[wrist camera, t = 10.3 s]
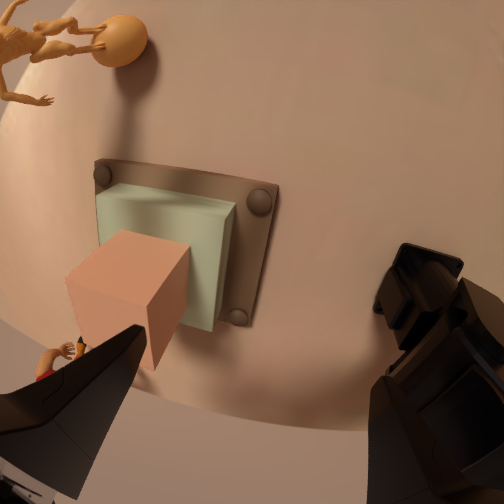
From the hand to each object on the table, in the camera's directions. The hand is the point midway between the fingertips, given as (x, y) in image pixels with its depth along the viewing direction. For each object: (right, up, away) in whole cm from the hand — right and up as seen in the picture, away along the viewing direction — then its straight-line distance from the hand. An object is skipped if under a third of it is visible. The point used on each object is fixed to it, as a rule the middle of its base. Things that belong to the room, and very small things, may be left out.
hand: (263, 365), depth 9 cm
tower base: (-6, +5, +12) cm, 15 cm away
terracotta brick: (-7, +3, +9) cm, 12 cm away
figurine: (-10, +19, +6) cm, 22 cm away
